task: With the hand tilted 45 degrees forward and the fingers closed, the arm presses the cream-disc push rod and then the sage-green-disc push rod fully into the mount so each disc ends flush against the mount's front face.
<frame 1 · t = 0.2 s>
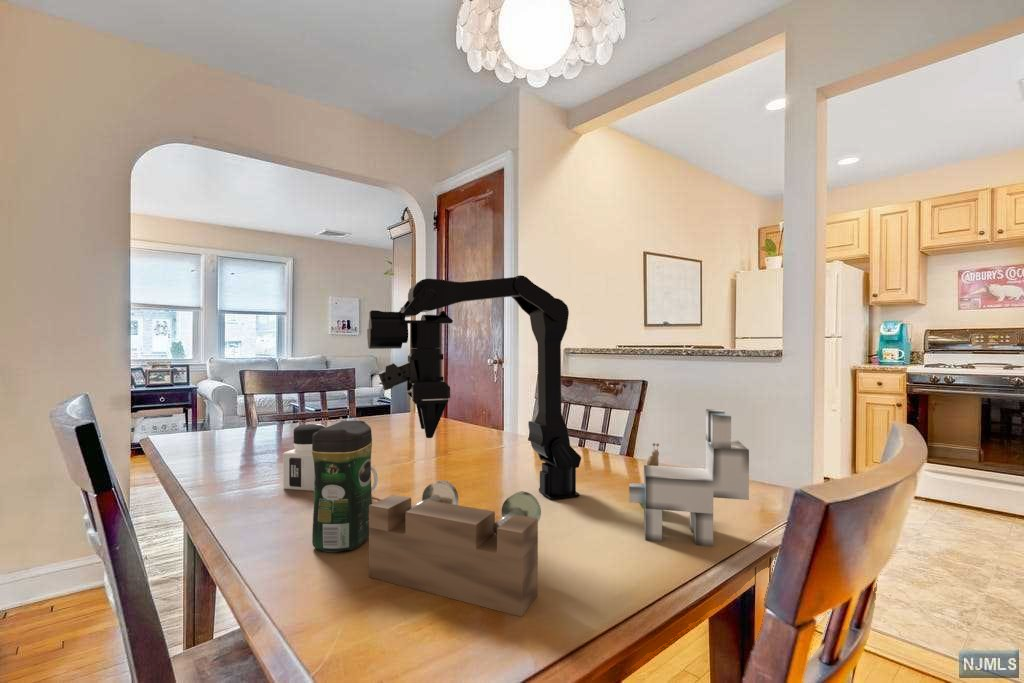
hand: (426, 433, 90), 14 cm above the table, tool pointing down, fingers open, 9 cm apart
mug: (350, 495, 100), on the table
coffee jar: (342, 542, 77), on the table
toy llama: (684, 536, 80), on the table
knob cream: (429, 504, 70), point 8 cm above the table, slide at 0.0 cm
knob sage: (512, 518, 64), point 8 cm above the table, slide at 0.0 cm
mount: (450, 586, 63), on the table
container: (309, 486, 106), on the table
snail figurine: (653, 512, 91), on the table
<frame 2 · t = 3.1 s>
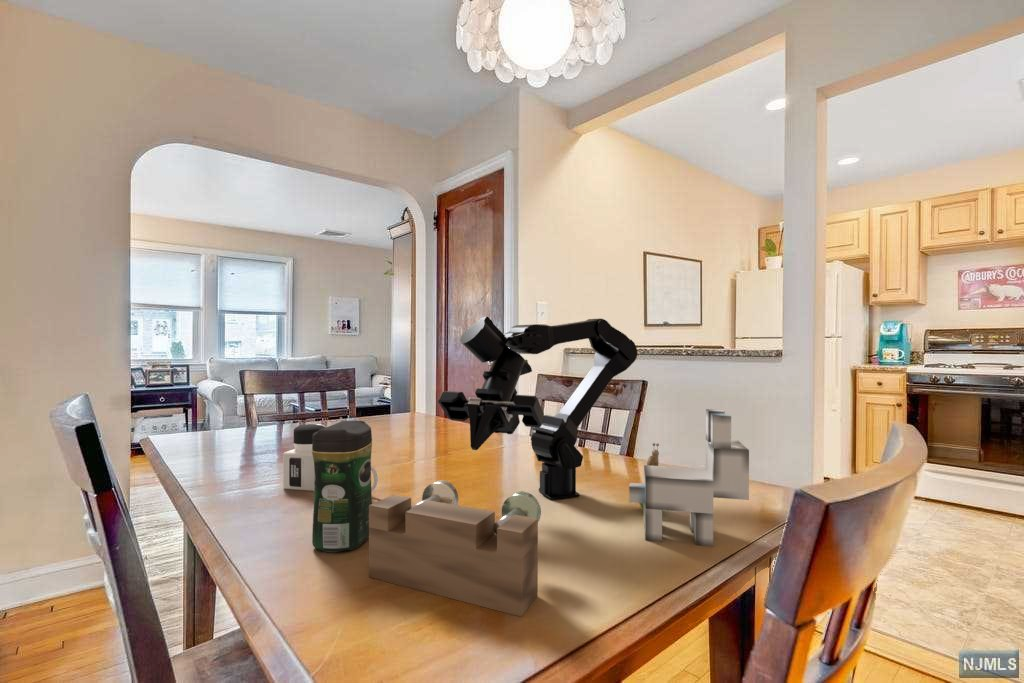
hand: (473, 448, 82), 13 cm above the table, tool tilted 45°, fingers closed
nothing on the table moved.
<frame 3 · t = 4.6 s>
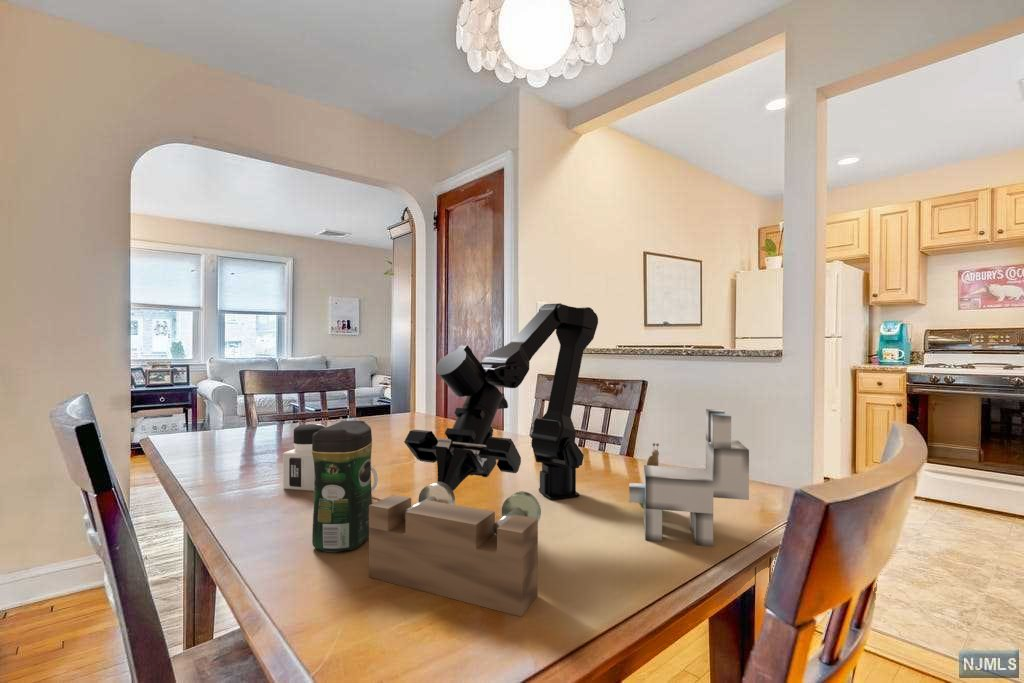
hand: (440, 498, 73), 8 cm above the table, tool tilted 45°, fingers closed, pressing on knob cream
knob cream: (425, 506, 69), point 8 cm above the table, slide at 0.9 cm, touching gripper
everything else where it was.
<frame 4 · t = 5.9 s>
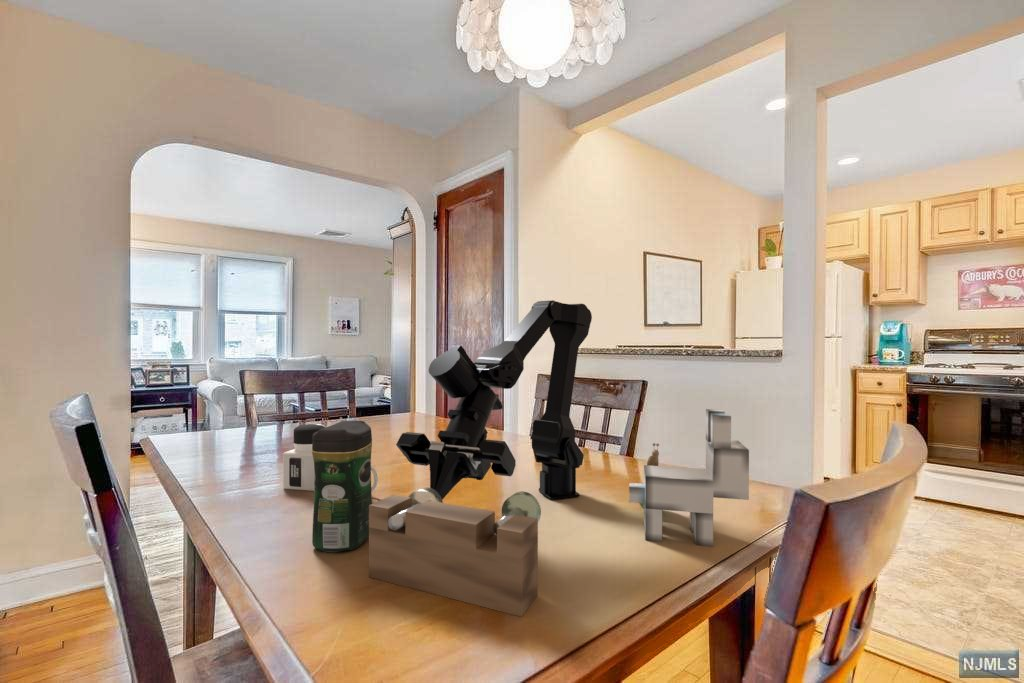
hand: (433, 503, 71), 8 cm above the table, tool tilted 45°, fingers closed
knob cream: (412, 513, 66), point 8 cm above the table, slide at 4.0 cm
everything else where it was.
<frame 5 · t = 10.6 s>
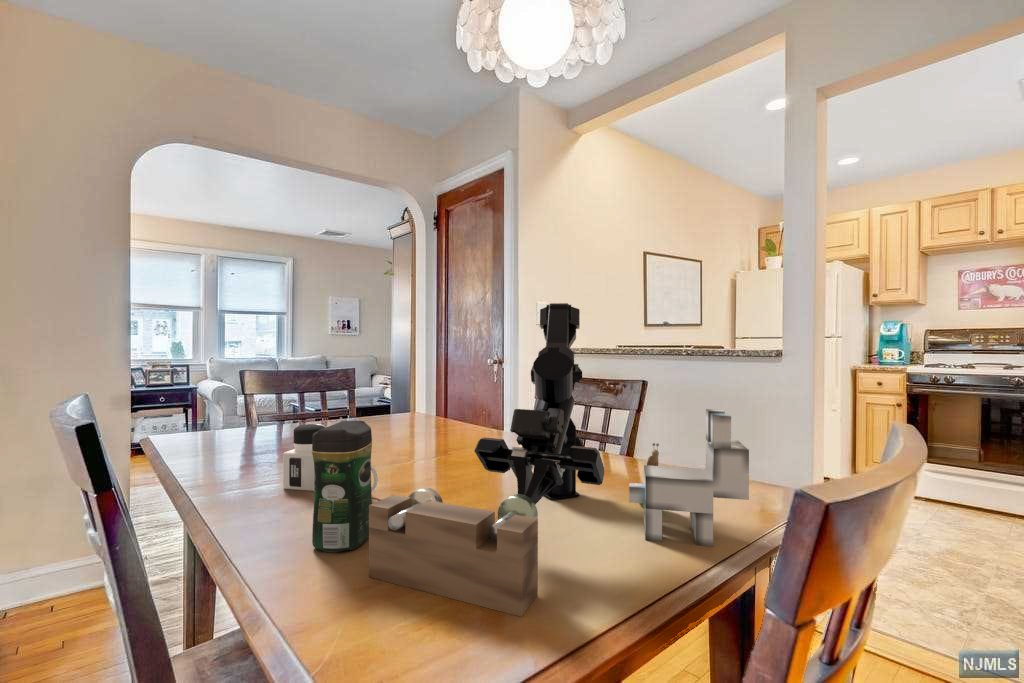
hand: (521, 513, 67), 8 cm above the table, tool tilted 45°, fingers closed, pressing on knob sage
knob sage: (508, 521, 63), point 8 cm above the table, slide at 1.2 cm, touching gripper
everything else where it was.
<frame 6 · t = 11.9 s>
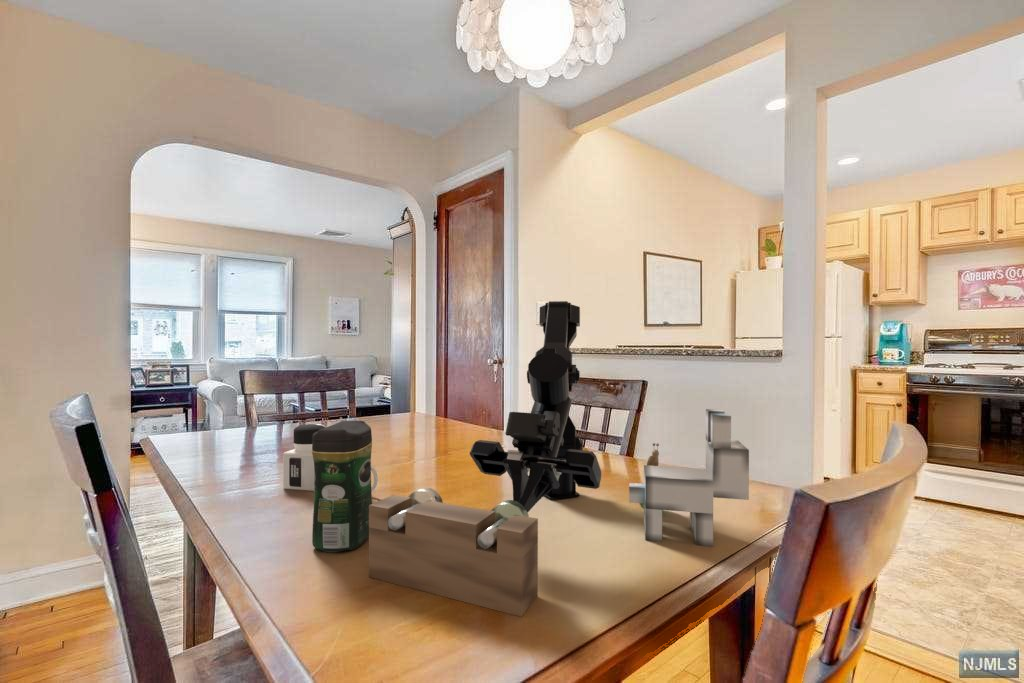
hand: (517, 518, 66), 8 cm above the table, tool tilted 45°, fingers closed
knob sage: (498, 529, 61), point 8 cm above the table, slide at 4.0 cm
everything else where it was.
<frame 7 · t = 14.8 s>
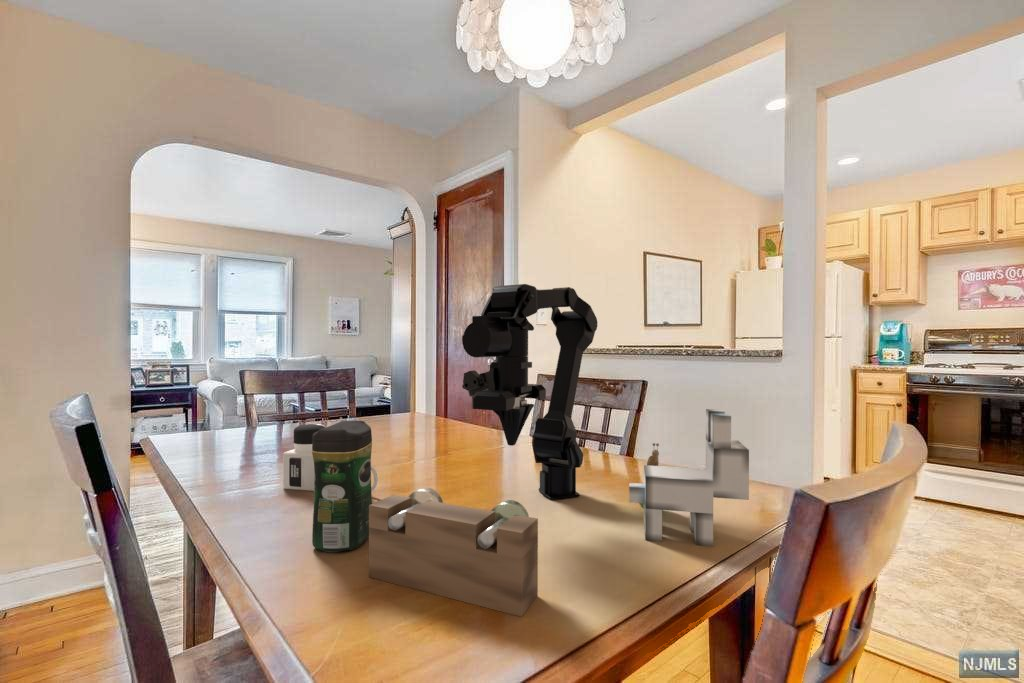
hand: (511, 445, 86), 13 cm above the table, tool pointing down, fingers closed
nothing on the table moved.
at the end: knob cream slide at 4.0 cm; knob sage slide at 4.0 cm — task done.
